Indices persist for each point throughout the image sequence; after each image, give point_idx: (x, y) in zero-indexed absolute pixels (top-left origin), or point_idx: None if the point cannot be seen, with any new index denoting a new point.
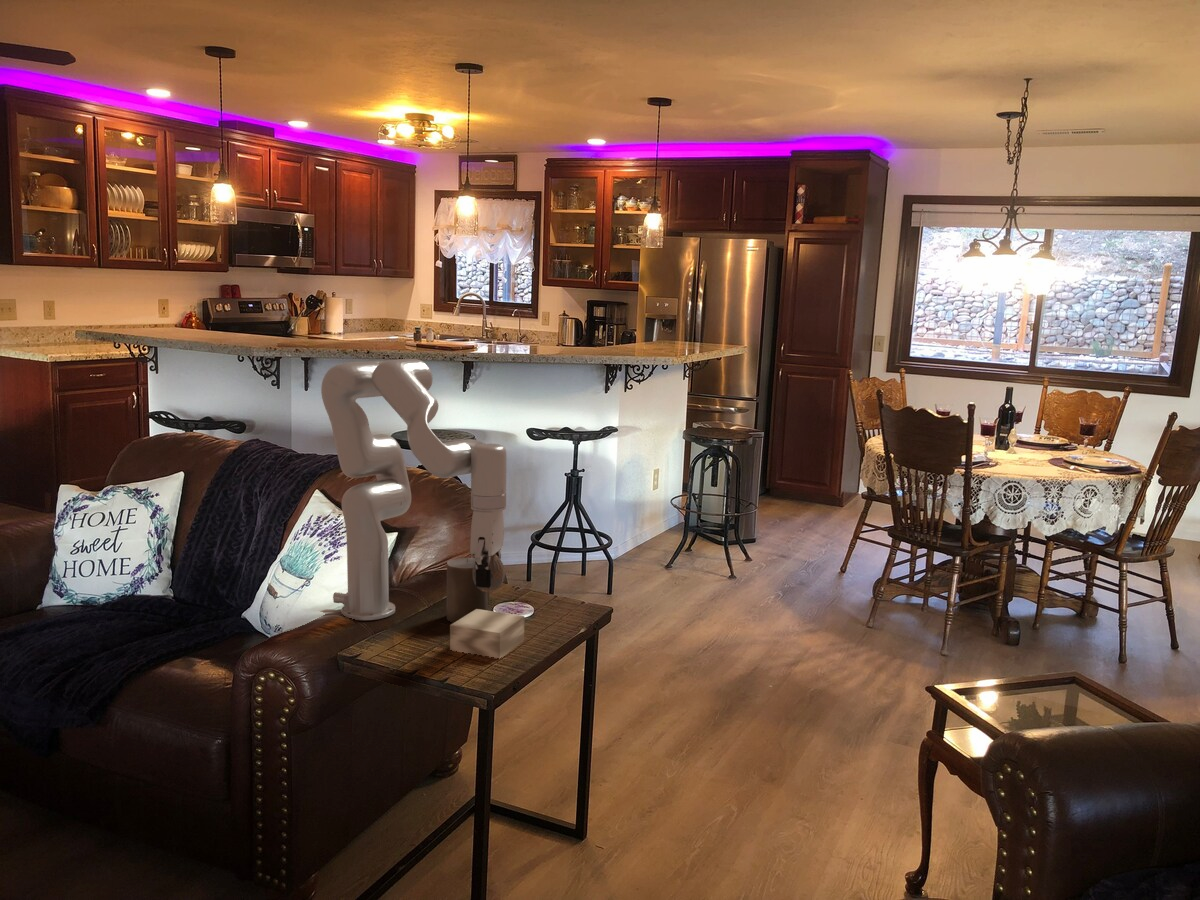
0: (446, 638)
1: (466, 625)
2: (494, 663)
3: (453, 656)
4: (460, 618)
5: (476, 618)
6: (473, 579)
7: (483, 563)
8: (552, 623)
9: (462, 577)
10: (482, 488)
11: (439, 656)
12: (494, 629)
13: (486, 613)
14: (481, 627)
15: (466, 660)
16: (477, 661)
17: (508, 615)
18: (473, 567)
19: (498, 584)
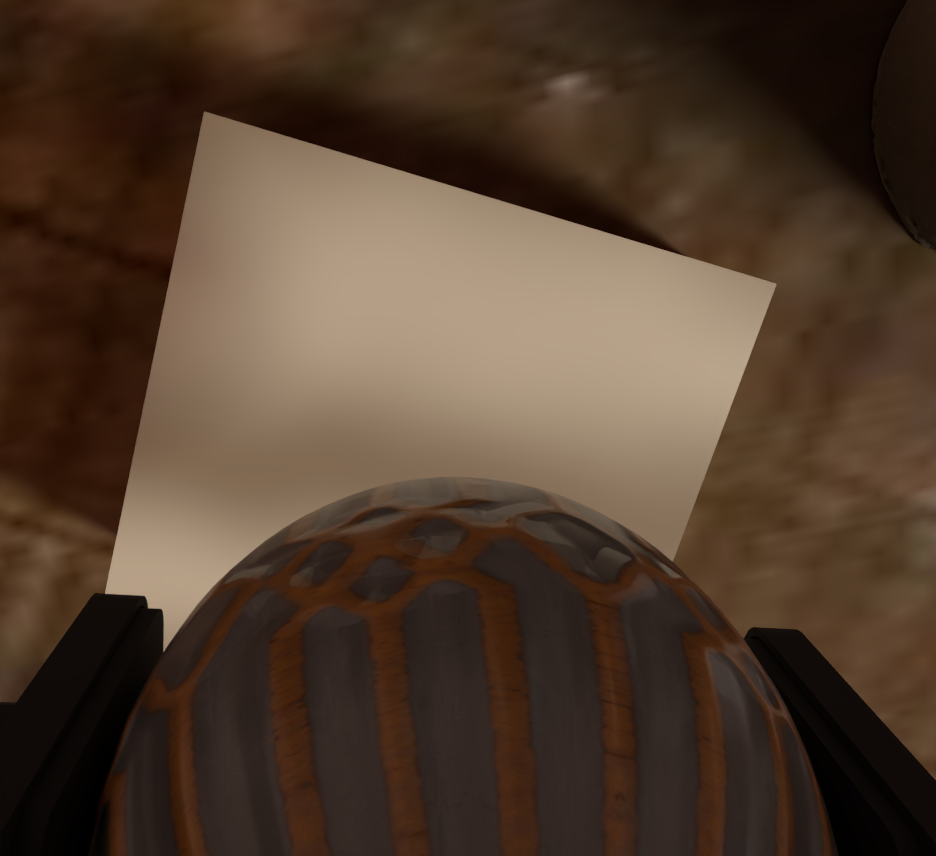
0: (529, 22)
1: (233, 296)
2: (57, 536)
3: (119, 189)
4: (909, 66)
5: (470, 351)
6: (302, 519)
7: None
8: (920, 759)
9: None
10: None
11: (89, 65)
12: (178, 592)
13: (635, 418)
14: (204, 461)
15: (60, 316)
16: (63, 406)
17: None
18: (362, 618)
19: None
